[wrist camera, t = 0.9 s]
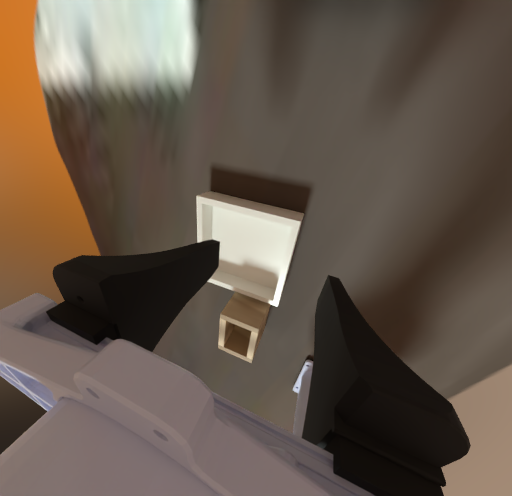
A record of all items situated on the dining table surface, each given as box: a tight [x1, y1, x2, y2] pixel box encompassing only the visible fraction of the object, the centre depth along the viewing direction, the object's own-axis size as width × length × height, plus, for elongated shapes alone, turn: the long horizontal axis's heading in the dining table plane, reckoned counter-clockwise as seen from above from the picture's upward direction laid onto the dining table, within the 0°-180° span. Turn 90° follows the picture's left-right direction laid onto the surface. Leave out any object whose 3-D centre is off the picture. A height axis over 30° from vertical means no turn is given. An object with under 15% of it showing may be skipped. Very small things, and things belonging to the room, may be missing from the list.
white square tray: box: [197, 191, 304, 307], centre depth 23 cm, size 11×11×3 cm
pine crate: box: [218, 292, 270, 363], centre depth 26 cm, size 7×5×6 cm
